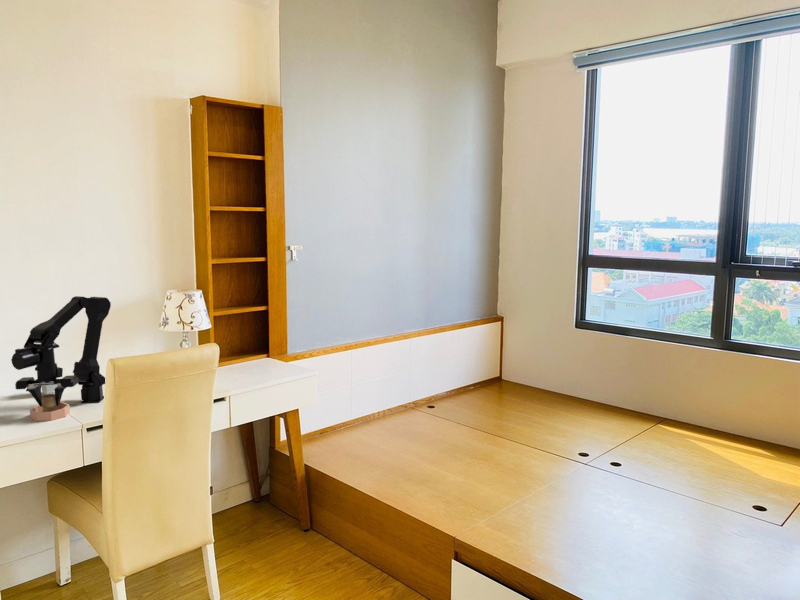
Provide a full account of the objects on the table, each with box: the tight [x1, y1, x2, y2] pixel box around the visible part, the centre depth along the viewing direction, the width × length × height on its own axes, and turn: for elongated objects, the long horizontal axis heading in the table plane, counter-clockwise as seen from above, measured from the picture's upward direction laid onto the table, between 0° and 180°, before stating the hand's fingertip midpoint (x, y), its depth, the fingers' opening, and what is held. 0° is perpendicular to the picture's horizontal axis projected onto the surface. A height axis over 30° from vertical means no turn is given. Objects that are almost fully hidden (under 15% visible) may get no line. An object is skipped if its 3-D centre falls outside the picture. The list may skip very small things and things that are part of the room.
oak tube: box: [41, 394, 58, 412], centre depth 220 cm, size 5×5×7 cm
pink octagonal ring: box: [29, 401, 71, 422], centre depth 220 cm, size 11×11×3 cm
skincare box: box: [41, 382, 57, 395], centre depth 246 cm, size 6×4×12 cm
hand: (49, 406), depth 220 cm, fingers open, 5 cm apart
